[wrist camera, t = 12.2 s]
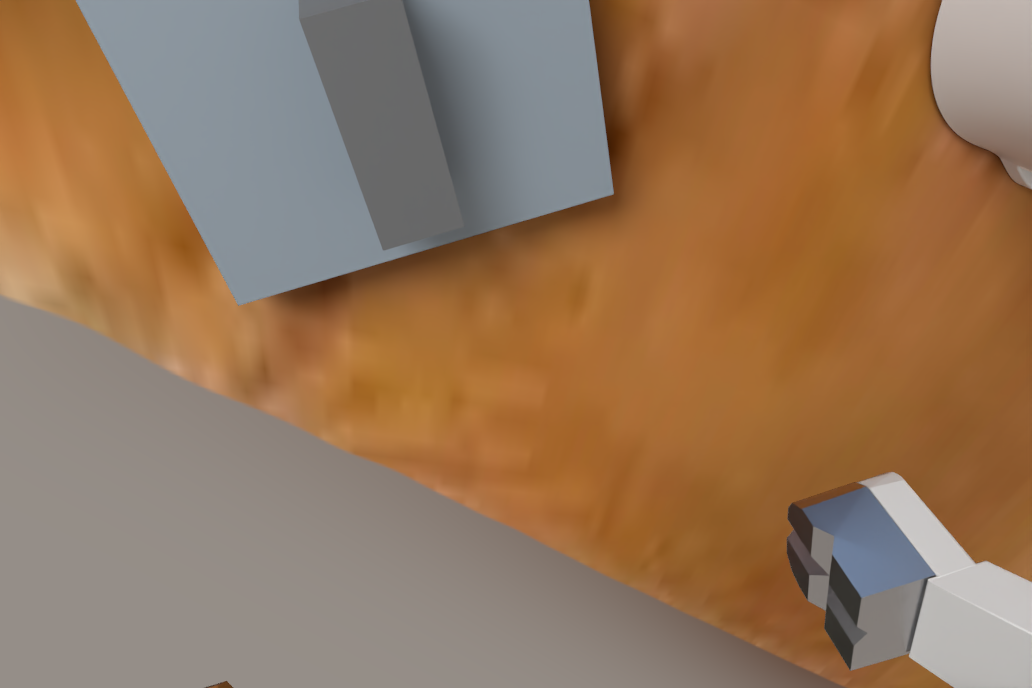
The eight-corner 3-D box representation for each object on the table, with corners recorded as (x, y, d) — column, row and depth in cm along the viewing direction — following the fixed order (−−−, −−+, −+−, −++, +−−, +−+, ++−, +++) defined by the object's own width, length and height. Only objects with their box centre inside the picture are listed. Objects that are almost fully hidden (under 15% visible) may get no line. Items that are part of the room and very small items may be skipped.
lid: (544, -180, 26) (602, -167, 21) (594, 167, 34) (643, 234, 29) (74, -55, 25) (22, -12, 20) (241, 271, 33) (233, 357, 28)
